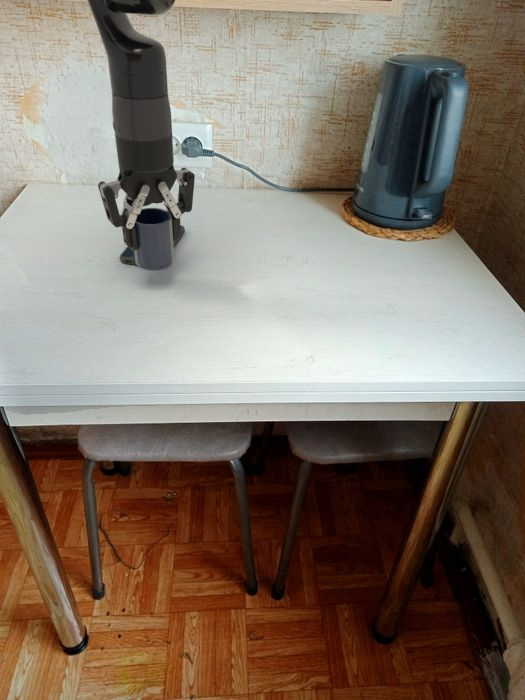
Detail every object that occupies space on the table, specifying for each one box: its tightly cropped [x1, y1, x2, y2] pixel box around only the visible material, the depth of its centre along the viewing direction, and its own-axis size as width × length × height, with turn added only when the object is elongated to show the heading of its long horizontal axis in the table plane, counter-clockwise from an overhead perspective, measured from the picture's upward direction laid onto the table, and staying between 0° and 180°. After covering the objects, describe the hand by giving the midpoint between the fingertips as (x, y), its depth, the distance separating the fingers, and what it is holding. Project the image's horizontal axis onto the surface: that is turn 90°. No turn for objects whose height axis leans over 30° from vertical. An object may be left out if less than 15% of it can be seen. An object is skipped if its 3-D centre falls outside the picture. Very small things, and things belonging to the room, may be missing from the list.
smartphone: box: [119, 224, 185, 266], centre depth 92 cm, size 8×15×1 cm, turn 170°
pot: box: [134, 207, 175, 272], centre depth 78 cm, size 6×6×8 cm
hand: (153, 243), depth 78 cm, fingers closed on pot, 6 cm apart
